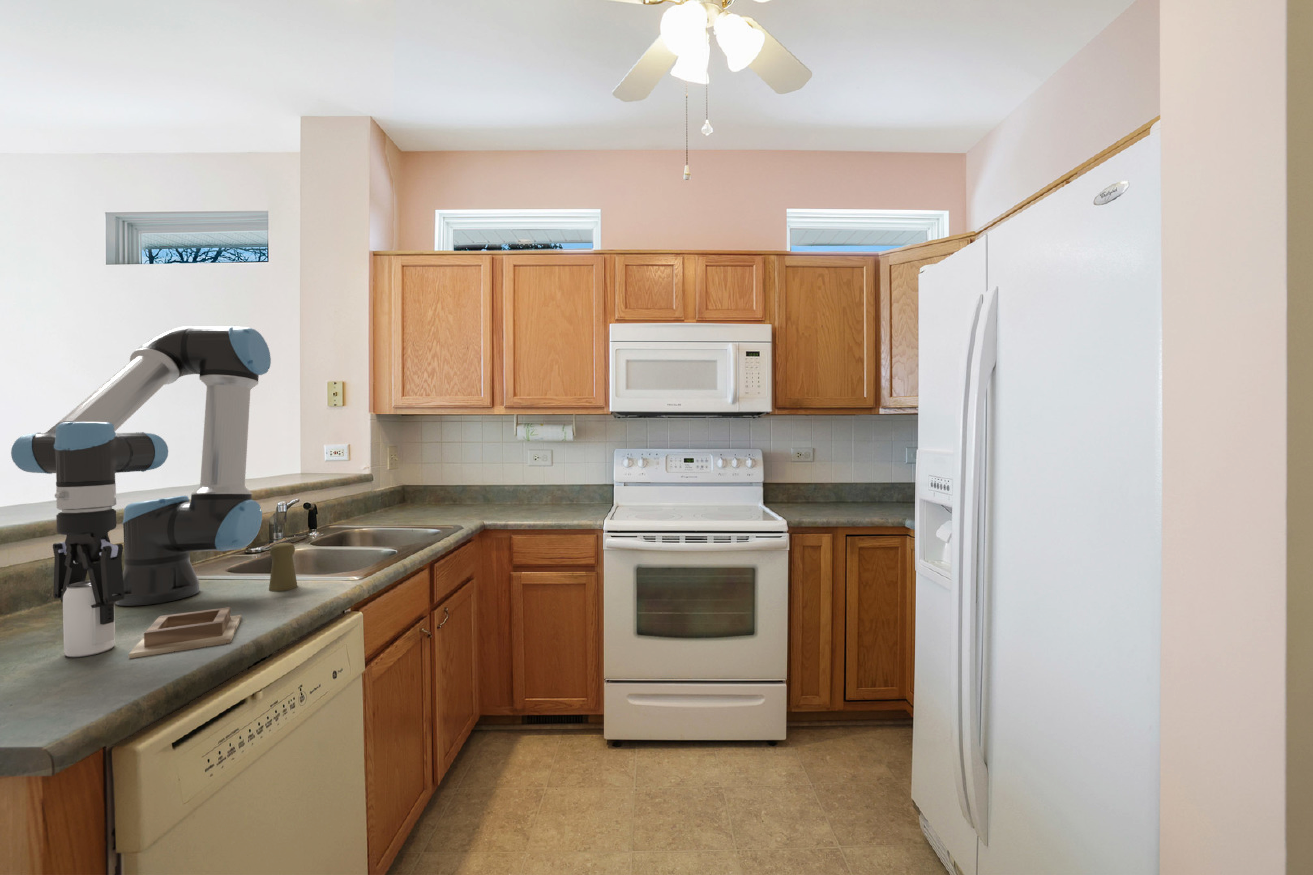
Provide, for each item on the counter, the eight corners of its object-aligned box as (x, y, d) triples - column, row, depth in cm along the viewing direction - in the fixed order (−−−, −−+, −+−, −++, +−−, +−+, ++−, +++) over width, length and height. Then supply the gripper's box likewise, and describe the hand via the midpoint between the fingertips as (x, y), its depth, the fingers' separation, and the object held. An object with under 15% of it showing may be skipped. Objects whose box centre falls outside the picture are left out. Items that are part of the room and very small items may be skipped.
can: (83, 659, 99) (81, 589, 99) (53, 656, 100) (52, 587, 100) (124, 645, 105) (123, 579, 105) (96, 643, 106) (95, 577, 106)
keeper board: (153, 630, 113) (152, 613, 113) (241, 618, 120) (241, 602, 120) (128, 658, 99) (128, 639, 99) (230, 642, 106) (229, 624, 106)
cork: (276, 585, 147) (276, 541, 146) (302, 584, 147) (301, 540, 147) (263, 591, 140) (262, 546, 140) (289, 590, 141) (289, 545, 141)
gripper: (21, 510, 101) (24, 642, 102) (100, 514, 96) (103, 653, 96) (74, 505, 109) (77, 628, 109) (150, 508, 103) (153, 637, 104)
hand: (89, 639), depth 103 cm, fingers closed on can, 6 cm apart
